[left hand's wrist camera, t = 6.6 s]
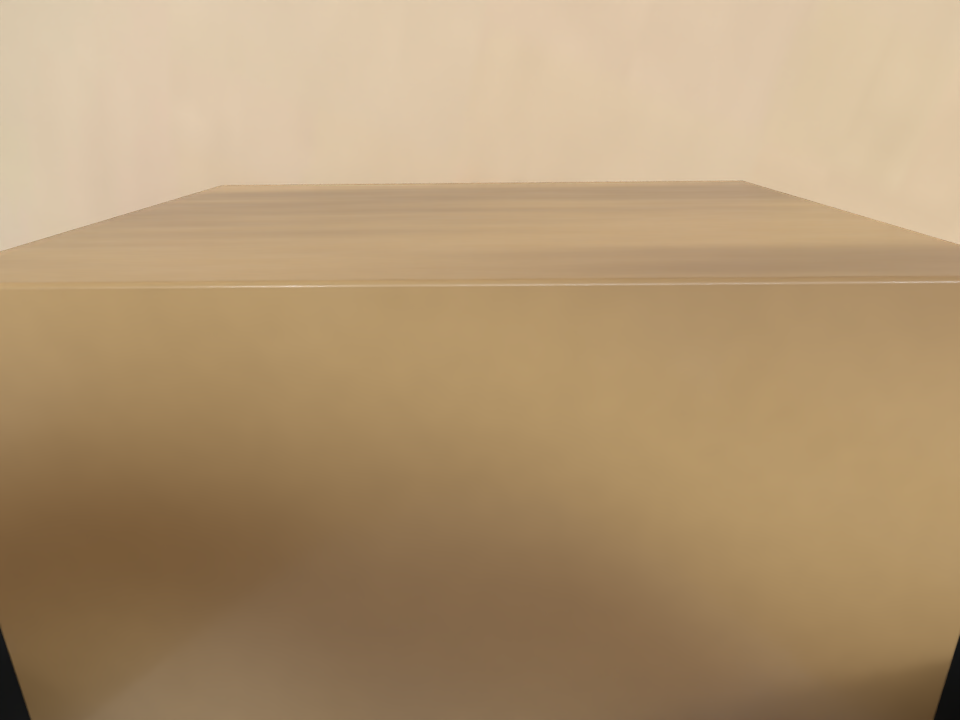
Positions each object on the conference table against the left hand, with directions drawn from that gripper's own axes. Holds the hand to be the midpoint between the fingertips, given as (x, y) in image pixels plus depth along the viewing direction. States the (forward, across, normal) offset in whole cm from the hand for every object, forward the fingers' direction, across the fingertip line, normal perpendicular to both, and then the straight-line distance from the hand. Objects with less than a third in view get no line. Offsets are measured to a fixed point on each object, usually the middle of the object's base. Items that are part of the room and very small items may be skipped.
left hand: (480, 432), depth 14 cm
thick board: (0, 0, -30) cm, 30 cm away
